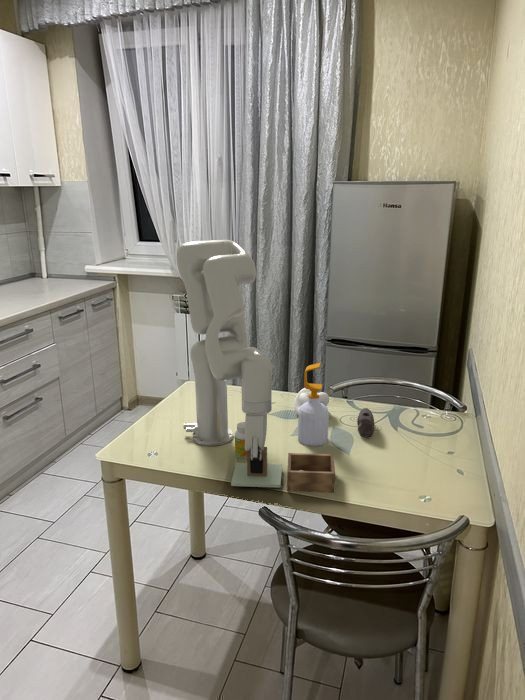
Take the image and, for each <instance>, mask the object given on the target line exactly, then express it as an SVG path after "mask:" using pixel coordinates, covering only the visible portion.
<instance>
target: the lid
mask: <svg viewBox="0 0 525 700" xmlns="http://www.w3.org/2000/svg"><path fill="white" fill-rule="evenodd" d="M258 448H260V447H258ZM258 453H259V452H258ZM250 458H251V448H250V450H249V451H247V458H246V462H235V465H234V470H233V472H232V473H233V474H232V478H231V482H230V486H231V487H250V488H253V487H254V488H256V487H257V488H277V489H278V488H280V489H281V485H282V474H283V473H282V472H283V464H282V463H268V446H264V450H263V451H262V459H263V473H262V474H260V473H251V472H250Z"/></svg>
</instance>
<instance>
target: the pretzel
mask: <svg viewBox="0 0 525 700" xmlns="http://www.w3.org/2000/svg"><path fill="white" fill-rule="evenodd" d="M309 394H311V391H310V389H305V387H303V388H302V389H301V390H299V392H298V393H297V394H296V397H295V398H294V402H293V408H294V412H295V414H296V415H297V417H298V416H299V408H300V406H301V405H303V404H304V403H306V402H308V395H309ZM317 394H319V402H320V403H323V404H324V405H325V406H326V407H327V406H328V405H329V402H330V396H329V395H328V394H327V392H323V391H321V392H317Z"/></svg>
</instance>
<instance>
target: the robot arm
mask: <svg viewBox="0 0 525 700" xmlns="http://www.w3.org/2000/svg"><path fill="white" fill-rule="evenodd" d="M176 251H177V252H176V265H177V271H178V272H179V275H180V278H181V280H182V282H183V285H184V287H185V291H186V295H187V296H186V298H187V304H188V310H189V318H190V323H191V327H192V328H191V329H192V330H193V332H194V333H195V334H197V335H205V336H204V337H205V338H204V339H202V340H199V341H196V342H195V343H194V344H193V345H192V346H191V348H190V361H191V365H192V369H193V374H194V384H195V385H194V387H195V388H194V389H195V390H194V391H195V407H196V409H195V410H196V422H193V423H190V422H188V423H187V422H184V423H183V430H185V432H186V433H192V440H193V442H195V443H196V444H199V445H201V446H206V447H214V446H216V447H217V446H221V445H225V444H227V443H229V442H230V441H232V440H233V438H234V432H233V430H232V429H231V428H229V417H228V416H229V415H228V412H229V411H228V384H227V381H231V380H236V379H241V382H240V383H241V411H242V413H243V414H245V421H244V422H245V450H246V451H249V450H250V448H251V458H250V472H251V473H260V474H262V473H263V459H262V451H263V450H264V447H266V445H265V444H266V439H267V431H268V429H267V428H268V427H267V426H268V414H269V413H271V412H272V409H273V408H272V401H273V400H272V395H273V394H272V390H273V389H272V388H273V387H272V386H273V385H272V380H273V379H272V376H273V375H272V368H273V367H272V365H273V364H272V361H271V359H270V358H269V357H267V356H265V355H263V353H262V352H261V350H260V349H258V347H252V346H249V343H248V341H249V340H248V336H247V328H246V321H245V315H244V312H245V308H246V307H245V302H244V300H243V295H242V293H241V288H240V286H242V285H243V286H244V285H250V284H252V283H253V282H254V281H255V280H256V277H257V268H256V264H255V262H254V260H253V258H252V256H250V254H249V253H248V252H247V251H246V250H245V249H244V248H243V247H241V245H239V244H238V243H237V242H236V241H234V240H231V239H216V240H215V239H214V240H212V239H211V240H195V241H189V242H185V243H183V244H181V245H180V246H179V248H178V250H176ZM220 333H221V334H222V333H227V336H221V337H220V335H219V334H220ZM258 447H260V448H258ZM258 452H259V453H258Z"/></svg>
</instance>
